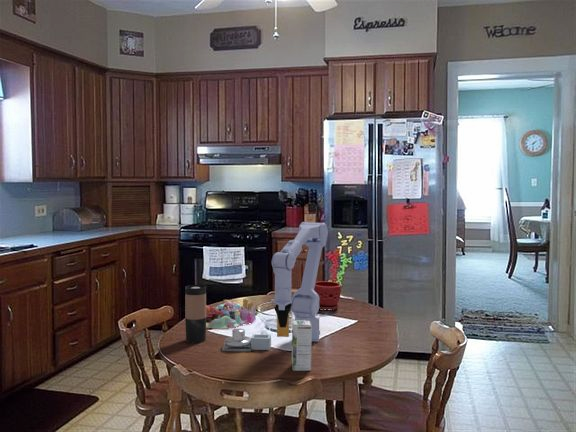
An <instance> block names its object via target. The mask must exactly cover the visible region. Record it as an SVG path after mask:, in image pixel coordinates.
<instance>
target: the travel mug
mask: <svg viewBox="0 0 576 432" xmlns="http://www.w3.org/2000/svg"><path fill="white" fill-rule="evenodd" d="M184 289H185V291H184V293H185V294H184V295H185V296H184V300H185V301H184V303H185V304H184V305H185V306H184V311H185V312H184V313H185V315H184V316H185V317H184V319H185V323H184V324H185V341H186V343H190V344H198V343H200V344H201V343H203V342H205V341H206V340H207V337H206V336H207V328H206V305H207V286H206V285H204V284H190V285H186V286H185V288H184Z"/></svg>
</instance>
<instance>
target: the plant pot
mask: <svg viewBox="0 0 576 432" xmlns="http://www.w3.org/2000/svg"><path fill="white" fill-rule="evenodd" d="M314 291H315V292H316V293H317V294H318V295H319V297H320V299H319V309H326V310H328V309H335V310H337V309H338V308H339V301H340V299H341V293H342V284H341V283H338V282H336V281H329V280H328V281H327V280H326V281H325V280H323V281H321V280H319V281H316V282H315V287H314ZM336 308H337V309H336Z"/></svg>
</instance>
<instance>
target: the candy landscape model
mask: <svg viewBox="0 0 576 432" xmlns="http://www.w3.org/2000/svg"><path fill="white" fill-rule="evenodd" d="M255 312H256V307H255V305H254V302H249V298H243V299H242V305H241V304H240V303H238V302H235V301H231V300H229V299H223V301H222V303H221V304H218V305H217V306H211V307H210V305H207V304H206V329H209V328H212V329H211V330H230V329H229V328H234V329H237V328H240V326H244V325H243V324H246V325H250V324H249V323H251V324H253V323H254V322H253V321H255V320H257V319H256V315H255V314H256V313H255ZM255 322H256V321H255ZM236 327H237V328H236Z"/></svg>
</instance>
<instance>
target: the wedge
mask: <svg viewBox="0 0 576 432" xmlns="http://www.w3.org/2000/svg"><path fill="white" fill-rule="evenodd" d="M276 316H277V315H276ZM276 337H277V338H278V337H279V338H281V337H282V338H289V337H290V314H288V319H287V325H286V327H280V326H279V321H278V316H277V317H276Z"/></svg>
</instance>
